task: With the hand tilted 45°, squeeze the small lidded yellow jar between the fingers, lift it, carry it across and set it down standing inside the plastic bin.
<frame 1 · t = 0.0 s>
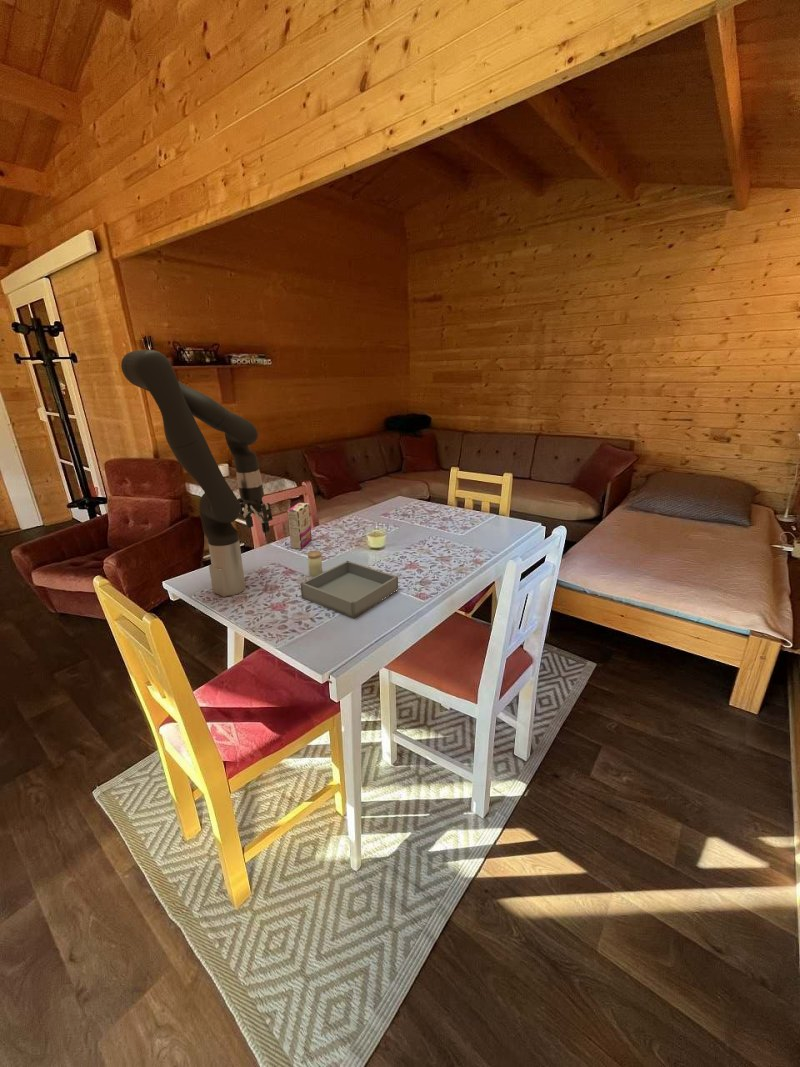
hand: (258, 529, 152), 17 cm above the table, tool pointing down, fingers open, 8 cm apart
bin: (350, 593, 145), on the table
lidded yellow jar: (315, 574, 159), on the table
candy bar box: (301, 544, 187), on the table
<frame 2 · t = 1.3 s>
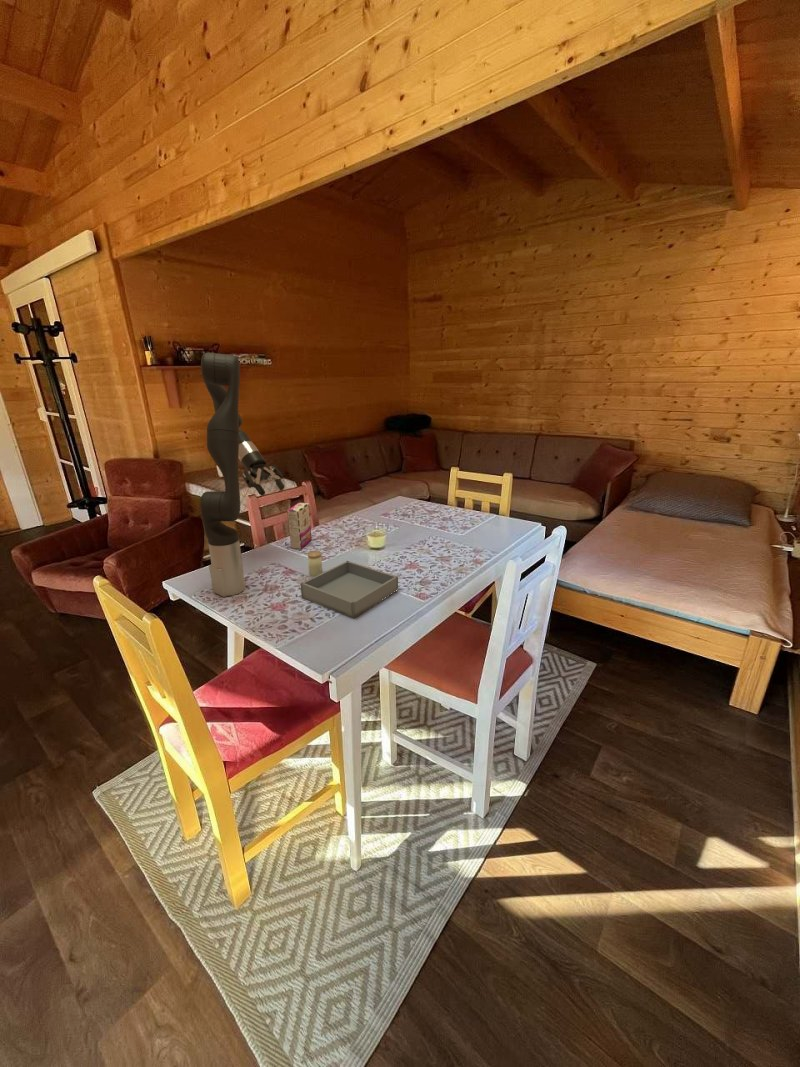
hand: (273, 491, 162), 27 cm above the table, tool tilted 45°, fingers open, 8 cm apart
nothing on the table moved.
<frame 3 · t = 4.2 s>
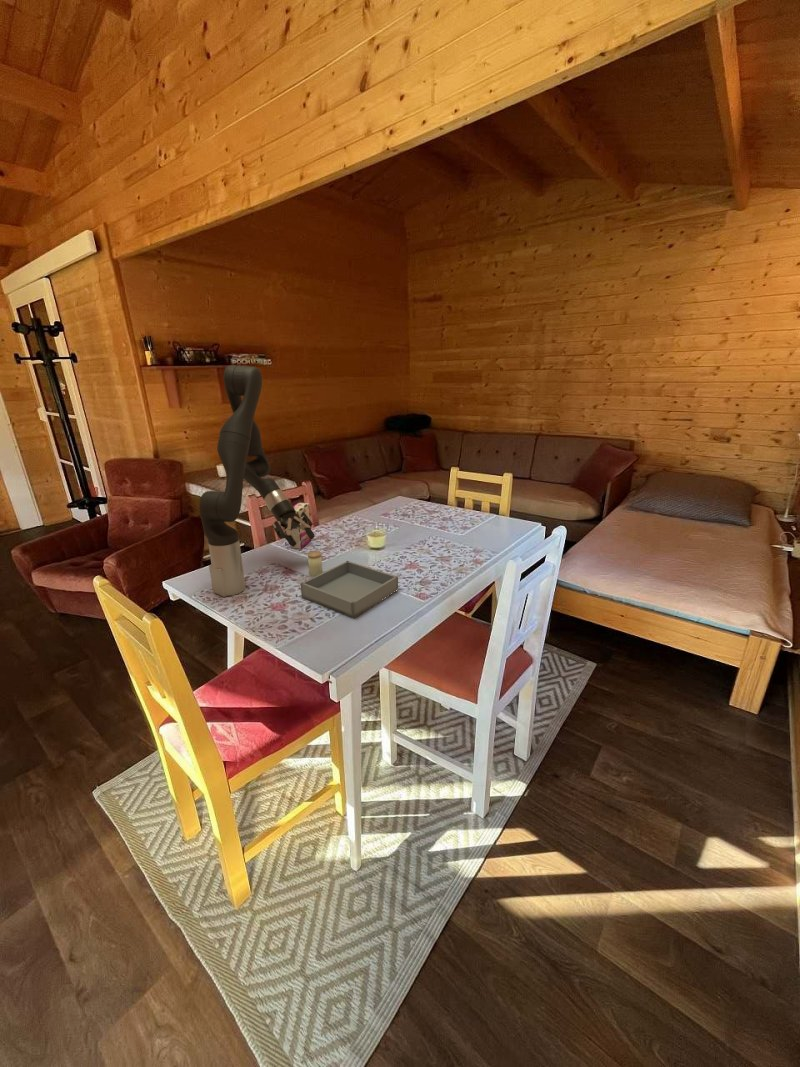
hand: (304, 541, 158), 11 cm above the table, tool tilted 45°, fingers open, 8 cm apart
nothing on the table moved.
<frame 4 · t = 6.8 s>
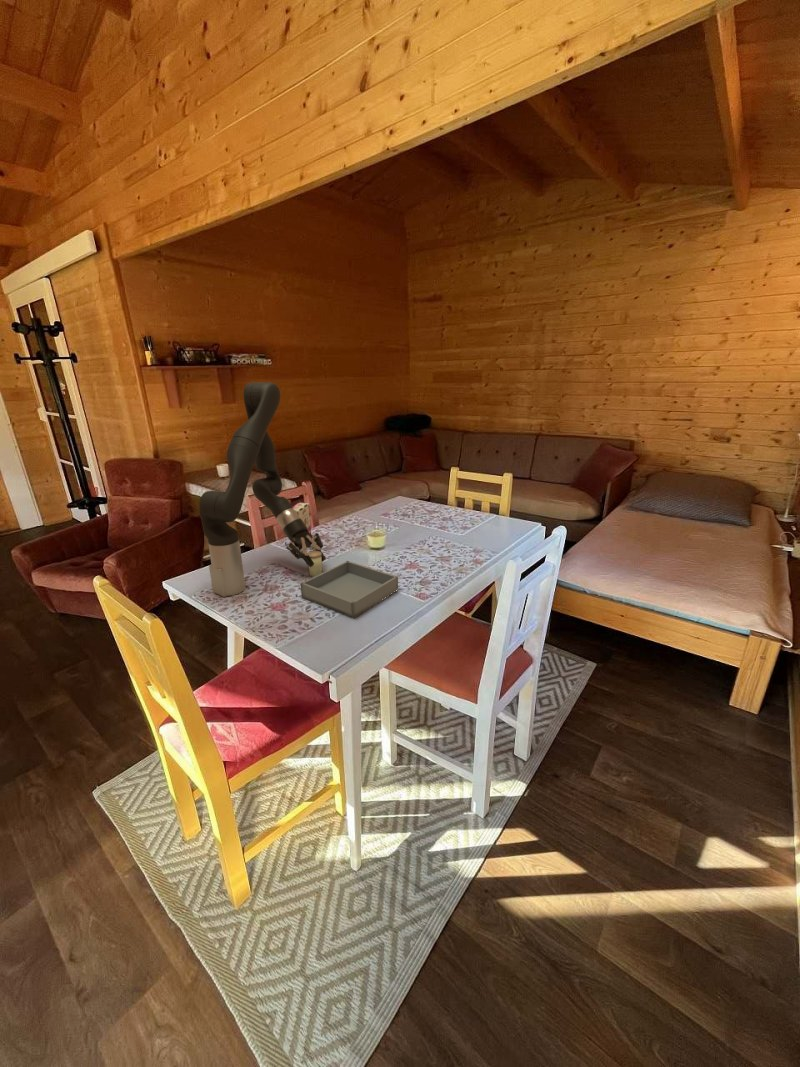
hand: (317, 562, 157), 5 cm above the table, tool tilted 45°, fingers closed on lidded yellow jar, 4 cm apart
lidded yellow jar: (315, 574, 159), on the table, touching gripper
everything else where it was.
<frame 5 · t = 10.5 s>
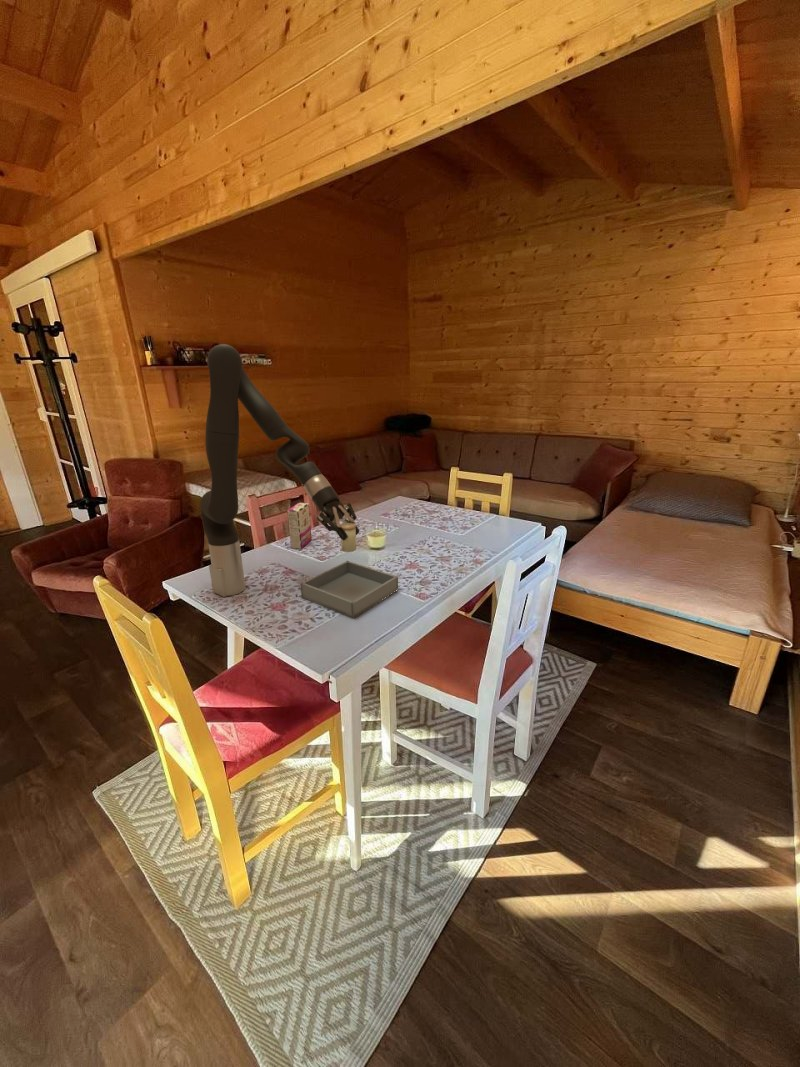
hand: (351, 536, 138), 20 cm above the table, tool tilted 45°, fingers closed on lidded yellow jar, 4 cm apart
lidded yellow jar: (349, 549, 141), point 15 cm above the table, touching gripper
everything else where it was.
when the fingers open (7 cm above the table, at t = 14.6 s): lidded yellow jar drops 1 cm, resting on bin.
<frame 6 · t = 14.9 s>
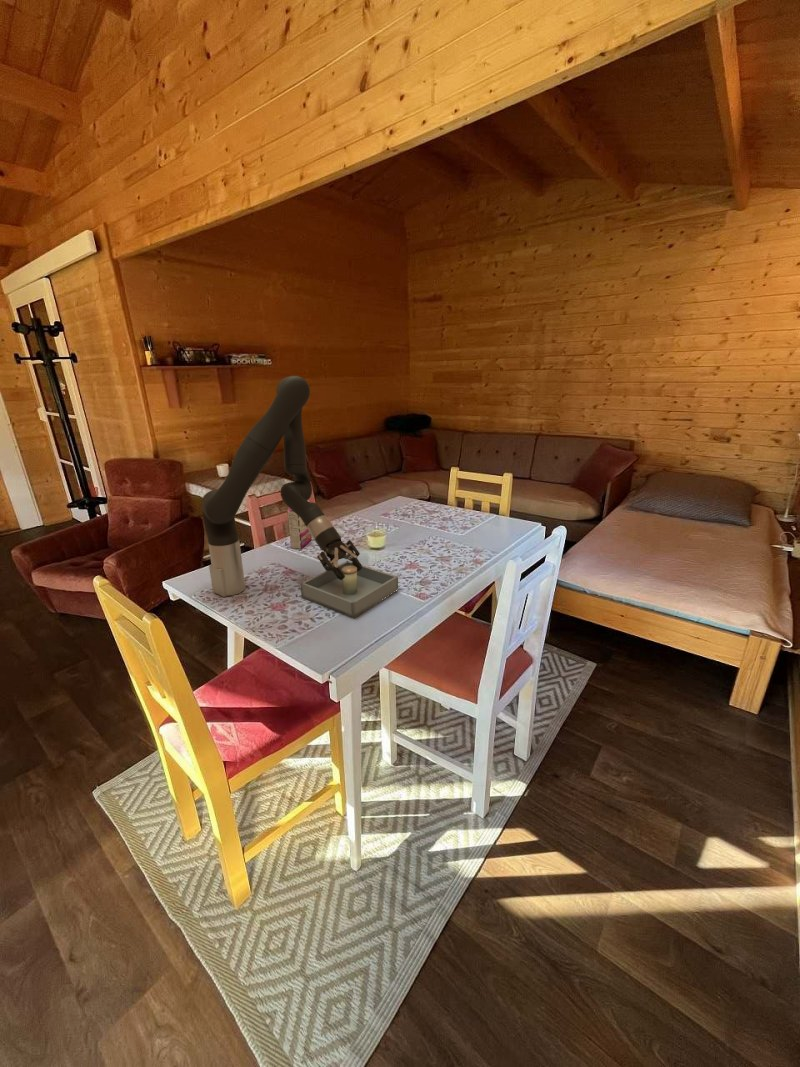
hand: (351, 574, 142), 7 cm above the table, tool tilted 45°, fingers open, 8 cm apart
lidded yellow jar: (350, 591, 145), point 1 cm above the table, touching bin
everything else where it was.
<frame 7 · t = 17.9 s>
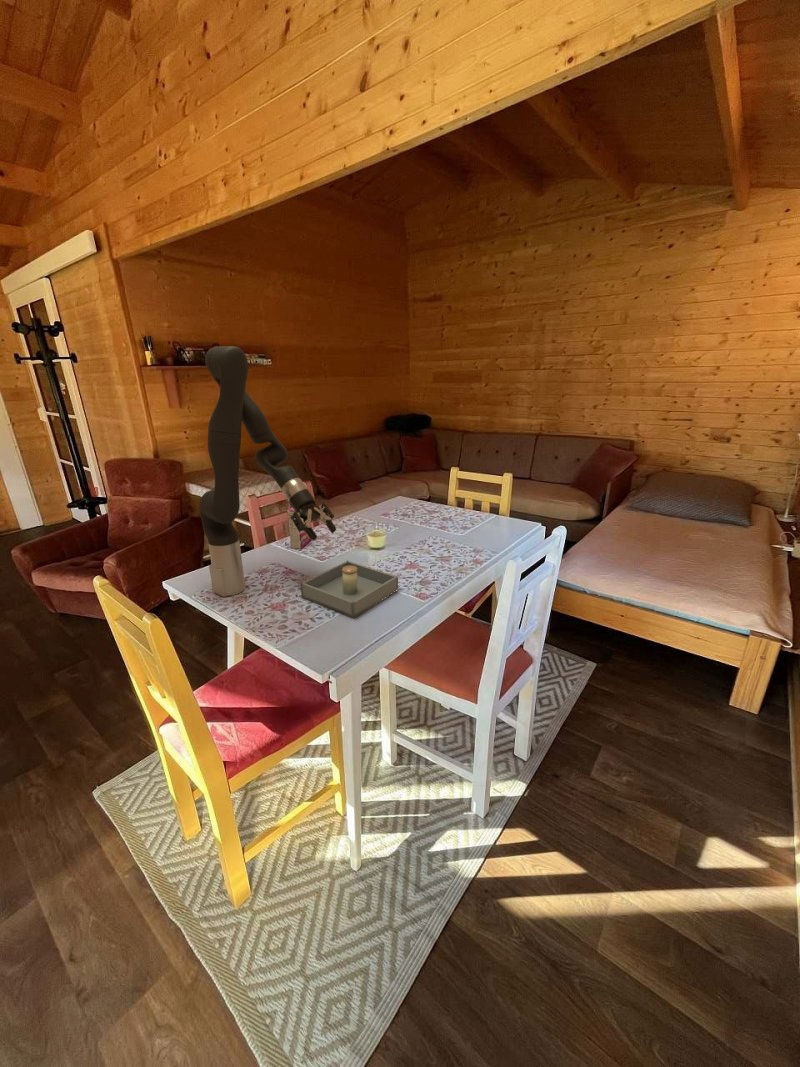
hand: (325, 535, 145), 18 cm above the table, tool tilted 45°, fingers open, 8 cm apart
nothing on the table moved.
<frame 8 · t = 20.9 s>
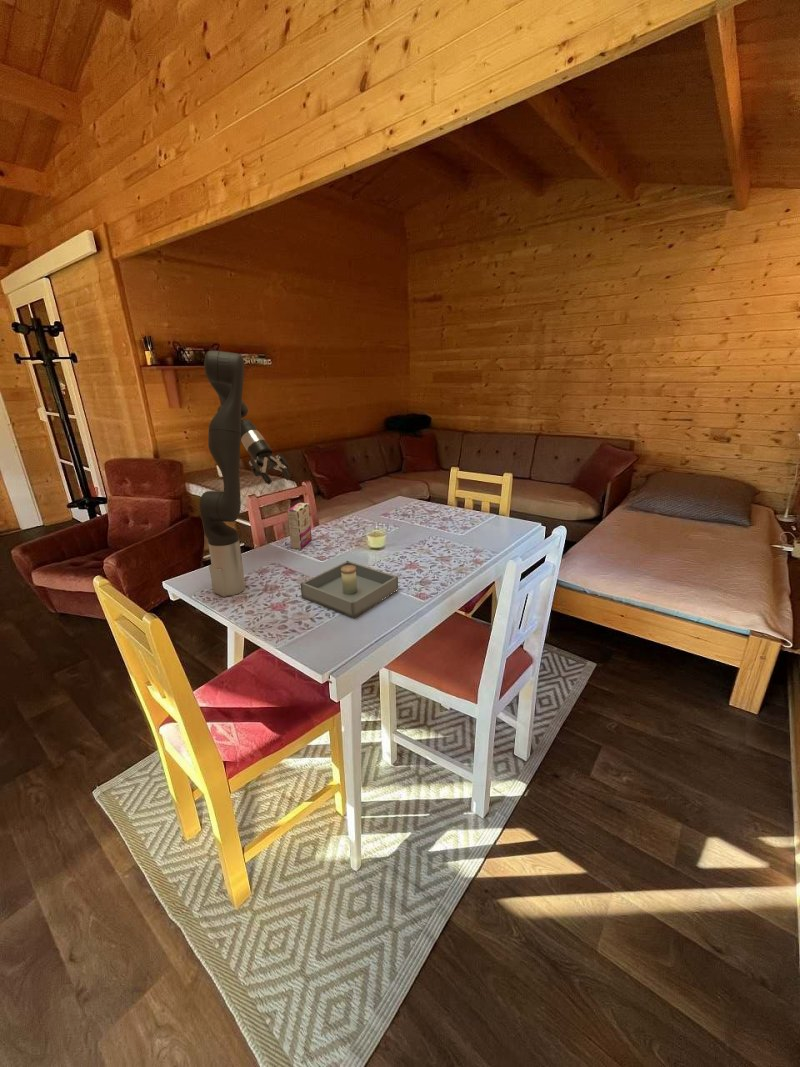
hand: (279, 480, 161), 31 cm above the table, tool tilted 45°, fingers open, 8 cm apart
nothing on the table moved.
at the end: lidded yellow jar inside the target area on the bin (0.1 cm from its centre), point 1.1 cm above the bin's base; lidded yellow jar tilted 3°; the gripper is holding nothing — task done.
